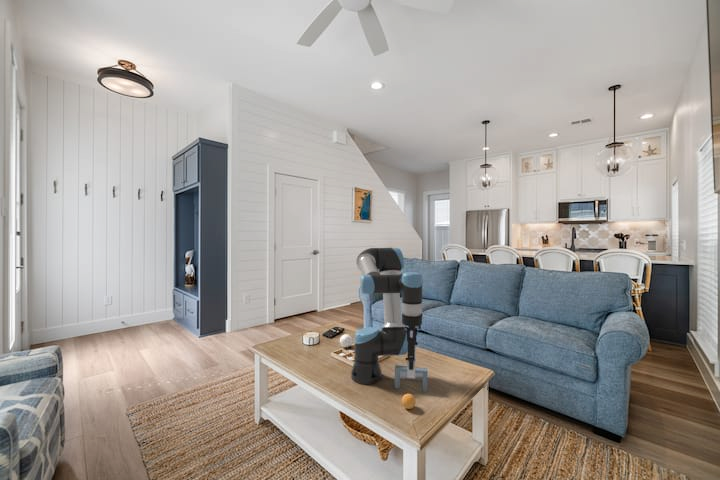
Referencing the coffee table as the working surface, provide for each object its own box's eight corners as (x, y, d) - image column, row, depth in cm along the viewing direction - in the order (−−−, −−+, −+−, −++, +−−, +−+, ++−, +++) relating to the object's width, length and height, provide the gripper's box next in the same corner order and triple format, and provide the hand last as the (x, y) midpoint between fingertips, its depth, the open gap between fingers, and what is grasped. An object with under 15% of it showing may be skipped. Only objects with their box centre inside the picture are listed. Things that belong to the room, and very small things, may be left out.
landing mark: (398, 378, 150) (398, 378, 150) (400, 366, 162) (400, 366, 162) (425, 381, 147) (425, 381, 147) (426, 369, 160) (426, 369, 160)
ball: (401, 410, 123) (401, 397, 123) (402, 403, 129) (402, 390, 128) (415, 412, 122) (415, 399, 122) (415, 404, 127) (415, 391, 127)
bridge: (427, 391, 138) (427, 371, 138) (394, 387, 141) (394, 368, 141) (427, 388, 141) (427, 368, 141) (395, 384, 144) (395, 365, 144)
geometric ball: (342, 351, 190) (335, 341, 190) (349, 343, 196) (342, 333, 196) (350, 348, 185) (342, 338, 185) (357, 340, 191) (349, 330, 191)
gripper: (422, 323, 104) (421, 386, 104) (422, 306, 128) (422, 356, 129) (399, 322, 105) (399, 384, 106) (403, 305, 130) (403, 355, 130)
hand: (411, 369), depth 117 cm, fingers open, 13 cm apart
